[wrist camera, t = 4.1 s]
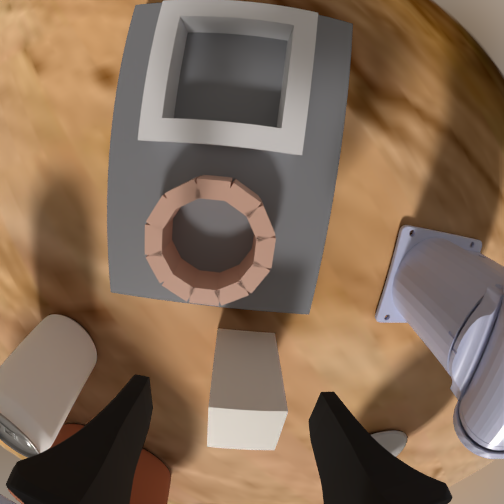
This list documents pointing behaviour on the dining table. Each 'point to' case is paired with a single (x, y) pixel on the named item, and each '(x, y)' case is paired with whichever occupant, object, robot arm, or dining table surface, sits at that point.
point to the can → (43, 383)
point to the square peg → (246, 392)
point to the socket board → (225, 153)
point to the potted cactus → (146, 474)
